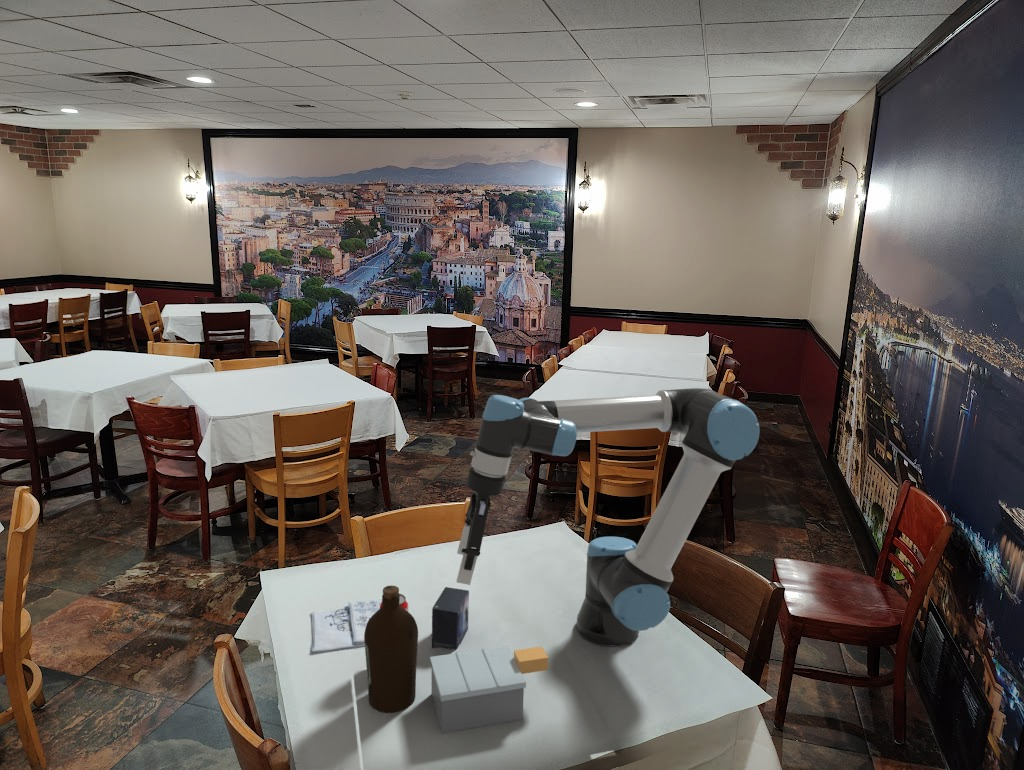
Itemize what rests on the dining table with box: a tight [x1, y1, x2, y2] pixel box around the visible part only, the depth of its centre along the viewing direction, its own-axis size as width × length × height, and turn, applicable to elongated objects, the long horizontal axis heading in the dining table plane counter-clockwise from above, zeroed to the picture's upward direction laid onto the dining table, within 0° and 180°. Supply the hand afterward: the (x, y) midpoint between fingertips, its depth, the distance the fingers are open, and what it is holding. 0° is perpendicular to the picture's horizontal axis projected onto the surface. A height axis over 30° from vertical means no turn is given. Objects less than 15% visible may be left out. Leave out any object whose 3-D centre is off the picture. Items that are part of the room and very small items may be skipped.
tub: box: [431, 671, 525, 734], centre depth 140 cm, size 16×12×8 cm
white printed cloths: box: [309, 598, 382, 655], centre depth 169 cm, size 19×20×2 cm
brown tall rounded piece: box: [364, 585, 419, 714], centre depth 140 cm, size 11×11×25 cm
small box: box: [430, 586, 470, 651], centre depth 164 cm, size 11×6×10 cm, turn 168°
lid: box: [429, 645, 549, 701], centre depth 140 cm, size 23×13×4 cm, turn 106°
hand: (463, 568), depth 144 cm, fingers open, 13 cm apart
